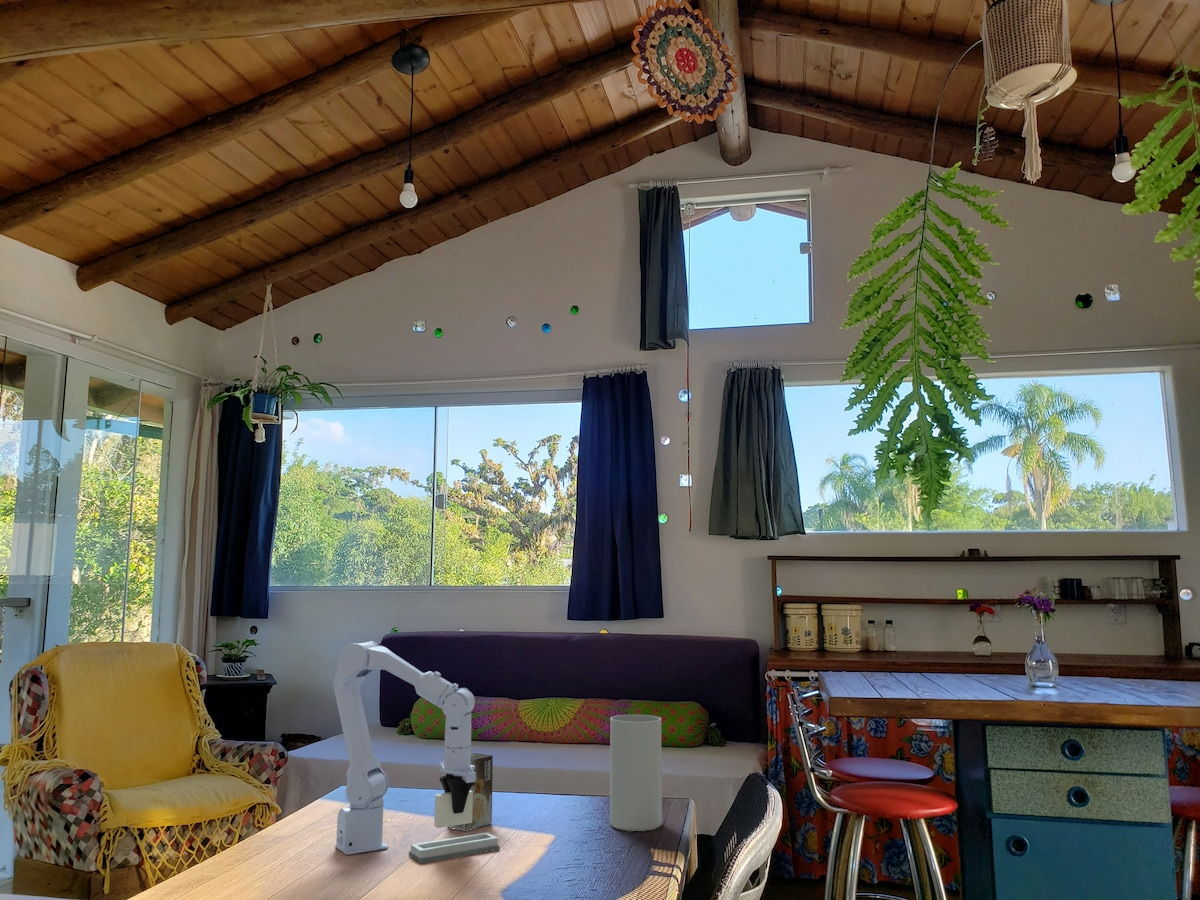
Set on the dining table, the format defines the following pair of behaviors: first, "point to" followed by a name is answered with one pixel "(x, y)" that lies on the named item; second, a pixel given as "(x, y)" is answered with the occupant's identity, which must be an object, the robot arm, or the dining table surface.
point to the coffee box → (480, 792)
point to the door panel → (451, 811)
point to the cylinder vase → (635, 772)
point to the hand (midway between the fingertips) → (455, 811)
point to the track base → (453, 847)
